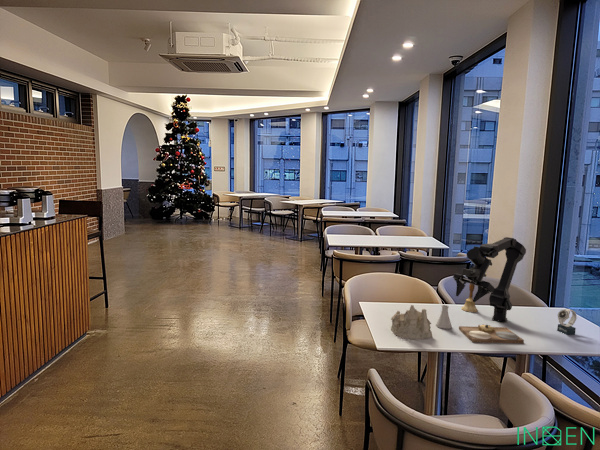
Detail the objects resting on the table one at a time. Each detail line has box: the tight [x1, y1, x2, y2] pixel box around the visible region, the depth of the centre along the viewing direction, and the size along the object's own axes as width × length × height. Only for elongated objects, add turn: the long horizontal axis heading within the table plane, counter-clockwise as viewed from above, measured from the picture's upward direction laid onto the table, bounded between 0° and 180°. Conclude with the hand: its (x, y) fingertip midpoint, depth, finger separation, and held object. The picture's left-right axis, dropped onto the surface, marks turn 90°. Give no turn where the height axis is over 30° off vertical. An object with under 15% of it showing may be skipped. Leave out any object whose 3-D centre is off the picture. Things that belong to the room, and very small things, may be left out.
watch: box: [556, 308, 578, 336], centre depth 193 cm, size 6×8×11 cm
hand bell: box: [461, 283, 479, 313], centre depth 222 cm, size 8×8×16 cm
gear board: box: [458, 324, 525, 345], centre depth 186 cm, size 15×22×4 cm
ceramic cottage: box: [390, 304, 433, 341], centre depth 187 cm, size 16×16×15 cm
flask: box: [435, 304, 452, 330], centre depth 197 cm, size 7×7×10 cm
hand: (464, 298), depth 191 cm, fingers open, 9 cm apart
